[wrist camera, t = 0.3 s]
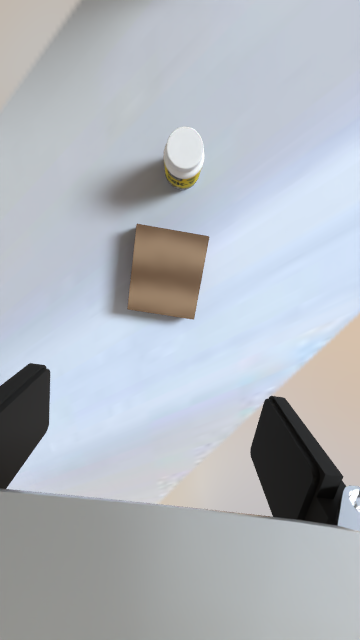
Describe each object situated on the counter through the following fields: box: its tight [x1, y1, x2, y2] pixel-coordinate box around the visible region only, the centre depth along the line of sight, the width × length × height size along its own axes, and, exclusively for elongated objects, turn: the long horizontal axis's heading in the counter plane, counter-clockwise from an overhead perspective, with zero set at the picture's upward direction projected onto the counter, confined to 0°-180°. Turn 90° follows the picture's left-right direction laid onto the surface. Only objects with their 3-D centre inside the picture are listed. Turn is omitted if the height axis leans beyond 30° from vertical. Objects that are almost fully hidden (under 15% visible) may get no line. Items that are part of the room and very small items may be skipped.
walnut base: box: [127, 224, 209, 319], centre depth 37 cm, size 12×10×3 cm
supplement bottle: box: [164, 127, 204, 190], centre depth 30 cm, size 5×5×8 cm
